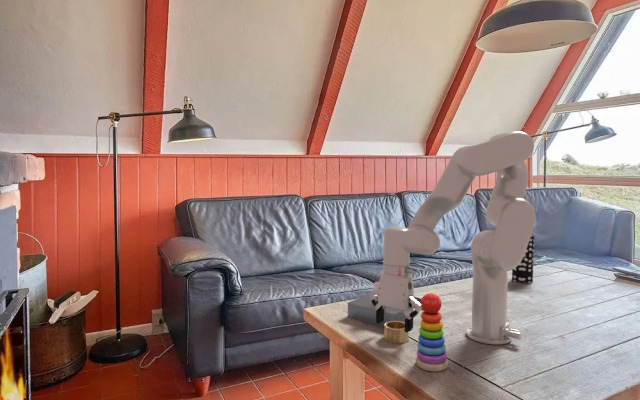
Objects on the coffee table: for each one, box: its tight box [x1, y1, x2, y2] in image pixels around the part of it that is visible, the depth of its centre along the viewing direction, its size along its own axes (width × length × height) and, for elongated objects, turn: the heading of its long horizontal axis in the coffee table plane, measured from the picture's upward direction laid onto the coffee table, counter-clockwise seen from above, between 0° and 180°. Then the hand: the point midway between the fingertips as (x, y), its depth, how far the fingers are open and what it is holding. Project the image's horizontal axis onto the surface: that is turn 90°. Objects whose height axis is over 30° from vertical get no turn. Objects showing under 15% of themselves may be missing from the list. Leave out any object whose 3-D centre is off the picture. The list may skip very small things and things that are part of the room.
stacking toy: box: [415, 292, 449, 372], centre depth 110 cm, size 8×8×19 cm
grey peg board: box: [347, 281, 414, 328], centre depth 144 cm, size 18×12×12 cm, turn 48°
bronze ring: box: [383, 321, 409, 344], centre depth 127 cm, size 7×7×4 cm
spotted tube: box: [511, 234, 535, 284], centre depth 189 cm, size 8×8×20 cm
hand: (393, 326), depth 127 cm, fingers open, 9 cm apart
